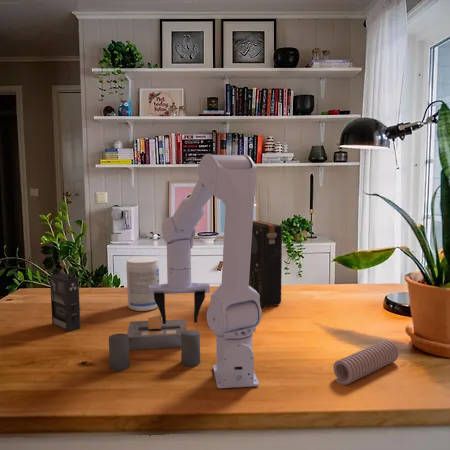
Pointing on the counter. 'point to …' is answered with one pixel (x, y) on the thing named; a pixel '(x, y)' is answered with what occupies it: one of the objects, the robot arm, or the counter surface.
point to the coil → (365, 362)
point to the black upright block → (266, 262)
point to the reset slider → (154, 322)
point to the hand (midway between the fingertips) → (180, 322)
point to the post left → (118, 352)
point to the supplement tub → (141, 282)
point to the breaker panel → (155, 335)
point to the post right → (190, 348)
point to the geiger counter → (65, 300)
